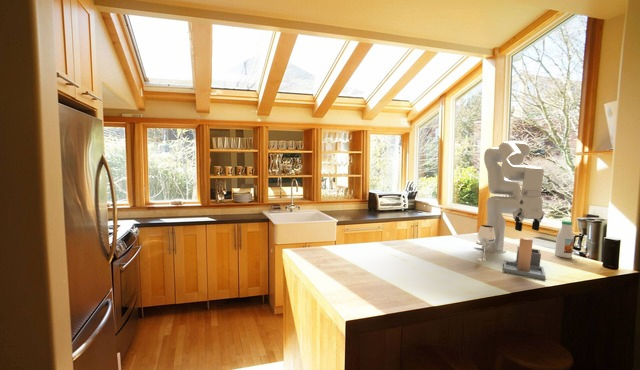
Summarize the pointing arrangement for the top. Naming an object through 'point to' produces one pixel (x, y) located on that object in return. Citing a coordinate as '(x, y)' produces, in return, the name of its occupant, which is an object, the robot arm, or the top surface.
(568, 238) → the milk bottle
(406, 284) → the top surface
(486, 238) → the wineglass
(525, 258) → the tan tall block
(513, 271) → the tray
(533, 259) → the grey open box
